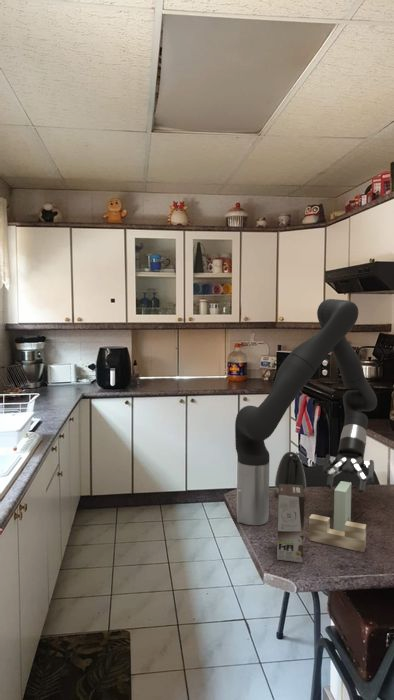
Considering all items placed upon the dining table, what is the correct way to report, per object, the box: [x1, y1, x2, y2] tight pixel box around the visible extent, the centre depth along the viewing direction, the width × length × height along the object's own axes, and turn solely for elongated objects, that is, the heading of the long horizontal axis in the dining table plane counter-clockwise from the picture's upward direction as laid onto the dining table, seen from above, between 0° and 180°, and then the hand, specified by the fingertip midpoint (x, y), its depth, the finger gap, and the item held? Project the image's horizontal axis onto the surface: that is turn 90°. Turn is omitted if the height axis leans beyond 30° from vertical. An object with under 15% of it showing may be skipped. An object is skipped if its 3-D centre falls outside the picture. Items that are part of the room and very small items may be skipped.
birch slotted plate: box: [308, 513, 367, 553], centre depth 121 cm, size 14×3×6 cm, turn 62°
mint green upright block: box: [333, 480, 352, 532], centre depth 131 cm, size 9×3×12 cm, turn 152°
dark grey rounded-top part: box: [274, 451, 307, 493], centre depth 155 cm, size 10×10×15 cm
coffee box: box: [276, 484, 306, 563], centre depth 116 cm, size 9×6×16 cm
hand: (344, 490), depth 134 cm, fingers open, 8 cm apart
